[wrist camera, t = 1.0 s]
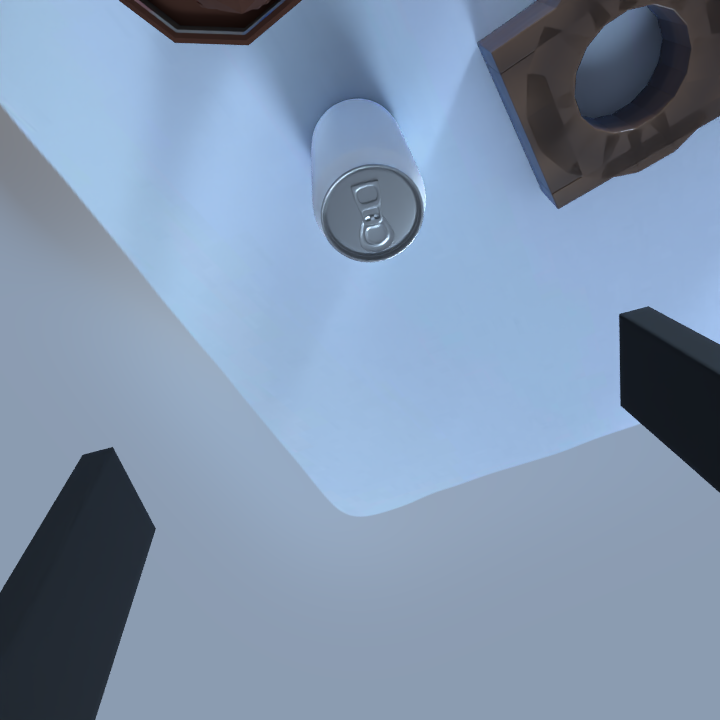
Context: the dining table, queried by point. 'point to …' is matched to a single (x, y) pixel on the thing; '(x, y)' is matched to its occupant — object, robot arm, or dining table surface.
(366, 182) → the can
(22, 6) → the dining table surface
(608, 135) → the holder
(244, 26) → the ice cream bowl
